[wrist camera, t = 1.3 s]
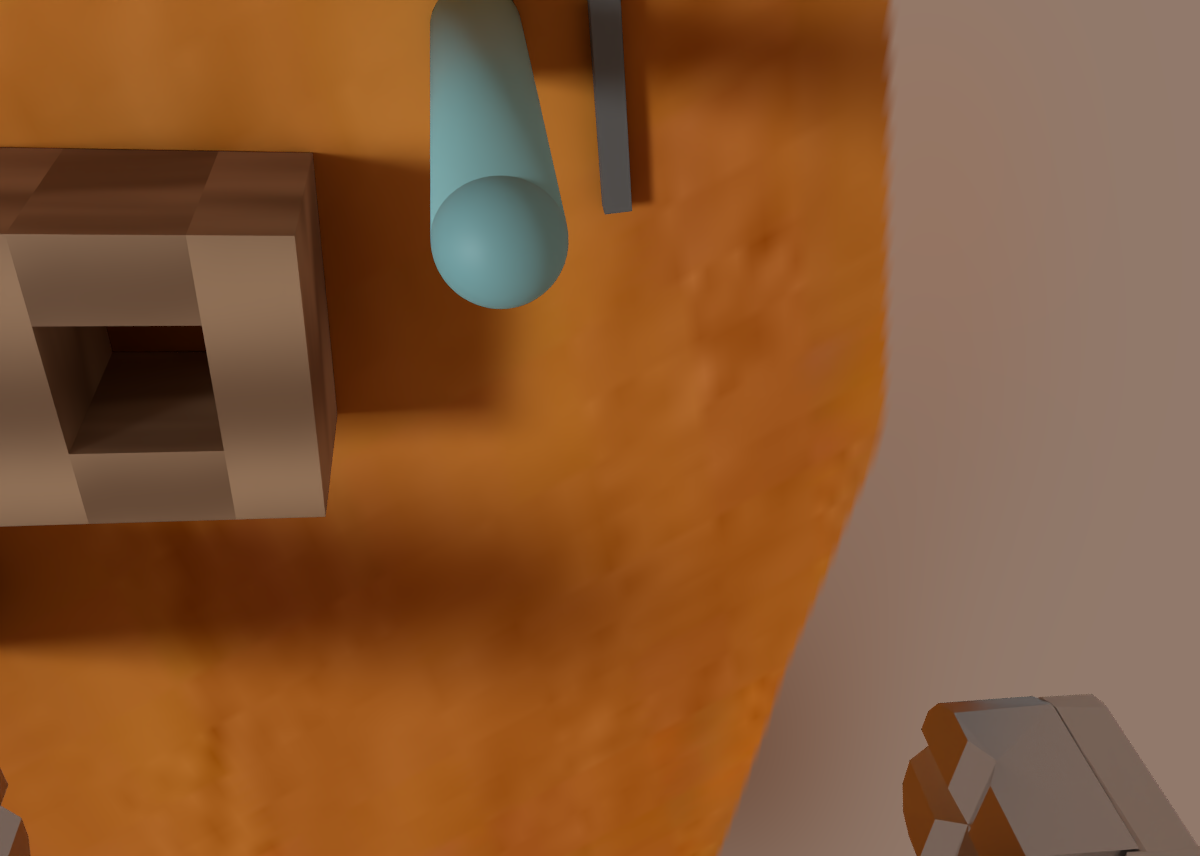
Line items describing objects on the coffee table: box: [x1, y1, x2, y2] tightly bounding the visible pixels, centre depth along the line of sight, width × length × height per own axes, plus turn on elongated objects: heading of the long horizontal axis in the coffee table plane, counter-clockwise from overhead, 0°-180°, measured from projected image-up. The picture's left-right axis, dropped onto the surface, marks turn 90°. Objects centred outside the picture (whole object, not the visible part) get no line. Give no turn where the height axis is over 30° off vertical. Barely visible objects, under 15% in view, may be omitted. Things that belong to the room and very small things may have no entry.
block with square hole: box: [0, 148, 337, 527], centre depth 30 cm, size 9×9×5 cm
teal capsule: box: [430, 0, 568, 309], centre depth 23 cm, size 2×2×13 cm
